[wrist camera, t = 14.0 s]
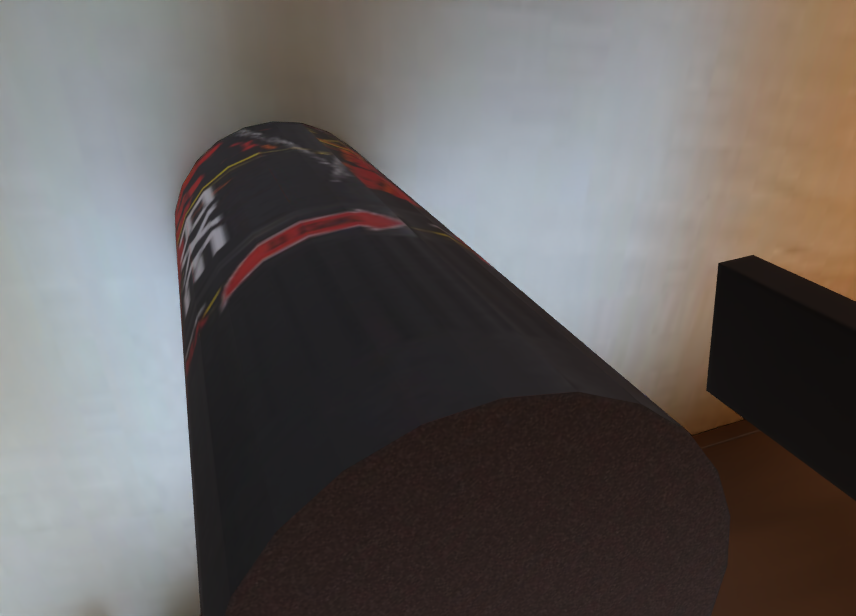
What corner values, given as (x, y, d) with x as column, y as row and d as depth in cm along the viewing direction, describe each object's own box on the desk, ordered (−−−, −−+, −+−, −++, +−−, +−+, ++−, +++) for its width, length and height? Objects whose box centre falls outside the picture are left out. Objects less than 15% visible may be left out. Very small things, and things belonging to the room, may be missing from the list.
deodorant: (362, 328, 23) (634, 784, 10) (164, 312, 20) (172, 879, 7) (403, 142, 21) (807, 402, 8) (187, 101, 18) (255, 375, 6)
